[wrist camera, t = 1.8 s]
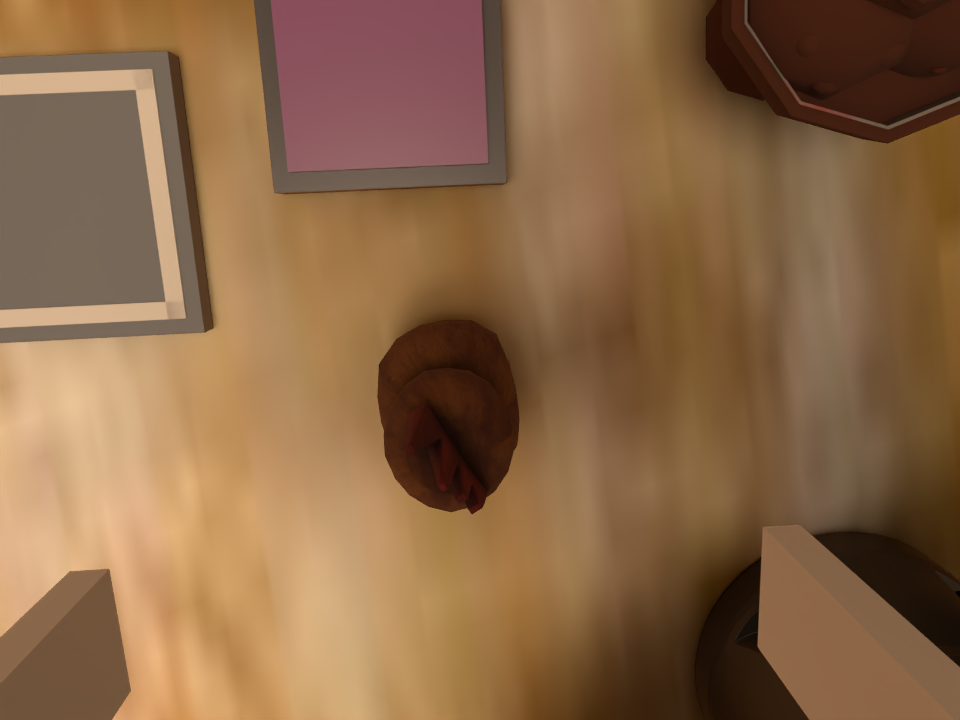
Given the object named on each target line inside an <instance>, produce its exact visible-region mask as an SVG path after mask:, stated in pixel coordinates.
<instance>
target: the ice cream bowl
mask: <svg viewBox="0 0 960 720" xmlns="http://www.w3.org/2000/svg"><path fill="white" fill-rule="evenodd" d="M706 60H707V61H708V63H709V64H710V66H711V67H712V68H713V70H714V71H715V73H716V74H717V76H718V77H719V78H720V80H721V81H722V83H723V84H724V85H725V87H726V88H727V90H728V91H732V92H735V93H739V94H743V95H746V96H750V97H753V98H757V99H760V100H766V101H767V103H768V104H769V106H770V107H771V108H772V110H773V111H774V112H775V114H776V115H779V116H782V117H786V118H789V119H793V120H796V121H800V122H804V123H807V124H811V125H814V126H818V127H821V128H825V129H828V130H832V131H835V132H839V133H843V134H846V135H850V136H853V137H857V138H860V139H865V140H871V141H876V142H882V143H890V142H892V141H895V140H897V139H900V138H902V137H905V136H907V135H910V134H912V133H914V132H917V131H919V130H922V129H924V128H927V127H929V126H932V125H934V124H937V123H939V122H942V121H944V120H947V119H949V118H951V117H954V116H956V115H959V114H960V0H717V2H716V3H715V5H714V6H713V8H712V9H711V11H710V13H709V14H708V16H707V17H706Z"/></svg>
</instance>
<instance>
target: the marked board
mask: <svg viewBox="0 0 960 720" xmlns="http://www.w3.org/2000/svg"><path fill="white" fill-rule="evenodd" d="M211 329H213V322H212V315H211V307H210V299H209V291H208V284H207V276H206V268H205V260H204V252H203V245H202V237H201V229H200V221H199V213H198V206H197V198H196V190H195V182H194V175H193V167H192V159H191V151H190V143H189V136H188V128H187V120H186V112H185V104H184V97H183V89H182V81H181V73H180V66H179V58H178V57H177V56H175V55H174V54H172V53H170V52H168V51H153V52H127V53H100V54H74V55H47V56H21V57H0V343H10V342H30V341H49V340H69V339H88V338H108V337H127V336H147V335H166V334H186V333H205V332H207V331H209V330H211Z"/></svg>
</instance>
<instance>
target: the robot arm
mask: <svg viewBox="0 0 960 720" xmlns="http://www.w3.org/2000/svg"><path fill="white" fill-rule="evenodd" d="M695 680H696V689H697V694H698V698H699V702H700V705H701V708H702V711H703V713H704V715H705V717H706V719H707V720H960V582H959V581H958V580H957V579H956V578H955V577H953V576H952V575H951V574H950V573H948V572H947V571H946V570H944V569H943V568H941V567H940V566H939V565H937V564H936V563H935V562H933V561H932V560H930V559H929V558H928V557H926V556H925V555H923V554H922V553H920V552H919V551H917V550H916V549H914V548H912V547H910V546H908V545H906V544H904V543H902V542H899V541H896V540H894V539H891V538H887V537H883V536H879V535H874V534H867V533H853V532H848V533H833V534H826V535H820V536H815V537H813V536H812V535H811V534H810V533H809V532H808V531H806V530H805V529H804V528H803V527H802V526H801V525H800V524H799V525H784V526H768V527H763V533H762V556H761V560H760V561H759V562H757V563H756V564H754V565H753V566H752V567H750V568H749V569H748V570H747V571H746V572H744V573H743V574H742V575H741V576H740V577H739V578H738V579H737V580H736V581H735V582H734V583H733V584H732V585H731V586H730V587H729V588H728V589H727V591H726V592H725V593H724V595H723V596H722V597H721V598H720V600H719V601H718V603H717V604H716V606H715V607H714V609H713V611H712V613H711V614H710V616H709V618H708V620H707V622H706V625H705V627H704V630H703V632H702V635H701V638H700V641H699V645H698V650H697V656H696V665H695ZM130 691H131V689H130V683H129V678H128V672H127V666H126V661H125V655H124V649H123V644H122V638H121V632H120V627H119V621H118V615H117V610H116V604H115V599H114V593H113V587H112V582H111V576H110V570H109V569H101V570H85V571H70V572H69V573H68V574H67V575H66V576H65V577H64V578H62V579H61V580H60V581H59V582H58V583H57V584H56V585H55V586H54V587H53V588H52V589H51V590H50V591H49V592H48V593H47V594H46V595H45V596H44V597H42V598H41V599H40V600H39V601H38V602H37V603H36V604H35V605H34V606H33V607H32V608H31V609H30V610H29V611H28V612H27V613H26V614H25V615H24V616H23V617H21V618H20V619H19V620H18V621H17V622H16V623H15V624H14V625H13V626H12V627H11V628H10V629H9V630H8V631H7V632H6V633H5V634H4V635H3V636H1V637H0V720H112V719H113V717H114V716H115V714H116V713H117V711H118V709H119V708H120V706H121V705H122V703H123V702H124V700H125V699H126V697H127V696H128V694H129V693H130Z"/></svg>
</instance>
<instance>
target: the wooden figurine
mask: <svg viewBox="0 0 960 720" xmlns="http://www.w3.org/2000/svg"><path fill="white" fill-rule="evenodd" d="M378 403H379V410H380V417H381V423H382V426H383V429H384V448H385V457H386V459H387V461H388V463H389V466H390V468H391V470H392V472H393V474H394V477H395V479H396V480H397V481H398V482H399V483H400V485H401V486H402V487H403V488H404V489H405V490H406V492H407V493H408V494H409V495H410V496H412V497H413V498H415V499H417V500H418V501H420V502H422V503H423V504H425V505H427V506H428V507H432V508H436V509H440V510H444V511H448V512H453V511H457V510H461V509H465V508H468V510H469V511H470V513H471V514H473V513H475V512H477V511H478V510H480V509H481V508H482V507H483V505H484V503H485V500H486V497H488V496H489V495H490V494H492V493H493V492H494V491H495V490H496V489H497V487H498V486H499V484H500V483H501V481H502V480H503V478H504V477H505V475H506V474H507V472H508V470H509V466H510V462H511V458H512V455H513V451H514V449H515V448H516V446H517V442H518V432H519V410H518V402H517V394H516V388H515V384H514V380H513V377H512V373H511V369H510V365H509V362H508V360H507V358H506V355H505V353H504V351H503V349H502V346H501V344H500V342H499V340H498V337H497V335H496V334H495V333H493V332H491V331H489V330H488V329H486V328H484V327H482V326H481V325H479V324H477V323H475V322H474V321H467V320H444V321H439V322H434V323H429V324H425V325H420V326H418V327H416V328H415V329H413V330H411V331H409V332H408V333H406V334H404V335H402V336H401V337H399V338H397V339H396V340H395V342H394V343H393V345H392V346H391V348H390V349H389V351H388V352H387V353H386V355H385V356H384V358H383V359H382V361H381V362H380V364H379V376H378Z"/></svg>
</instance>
